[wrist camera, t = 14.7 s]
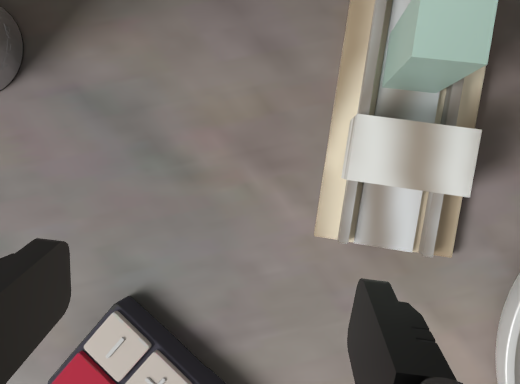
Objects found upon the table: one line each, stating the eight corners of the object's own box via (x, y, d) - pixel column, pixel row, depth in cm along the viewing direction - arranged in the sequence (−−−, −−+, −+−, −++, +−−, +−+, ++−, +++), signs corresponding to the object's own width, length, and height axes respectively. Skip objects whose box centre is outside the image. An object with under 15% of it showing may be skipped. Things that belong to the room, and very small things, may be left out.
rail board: (314, 233, 39) (316, 247, 32) (369, -126, 36) (383, -192, 30) (446, 254, 37) (477, 273, 31) (513, -116, 35) (561, -182, 28)
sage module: (381, 87, 36) (411, 56, 26) (389, 33, 35) (423, -19, 25) (436, 93, 35) (487, 64, 25) (444, 39, 35) (500, -12, 25)
